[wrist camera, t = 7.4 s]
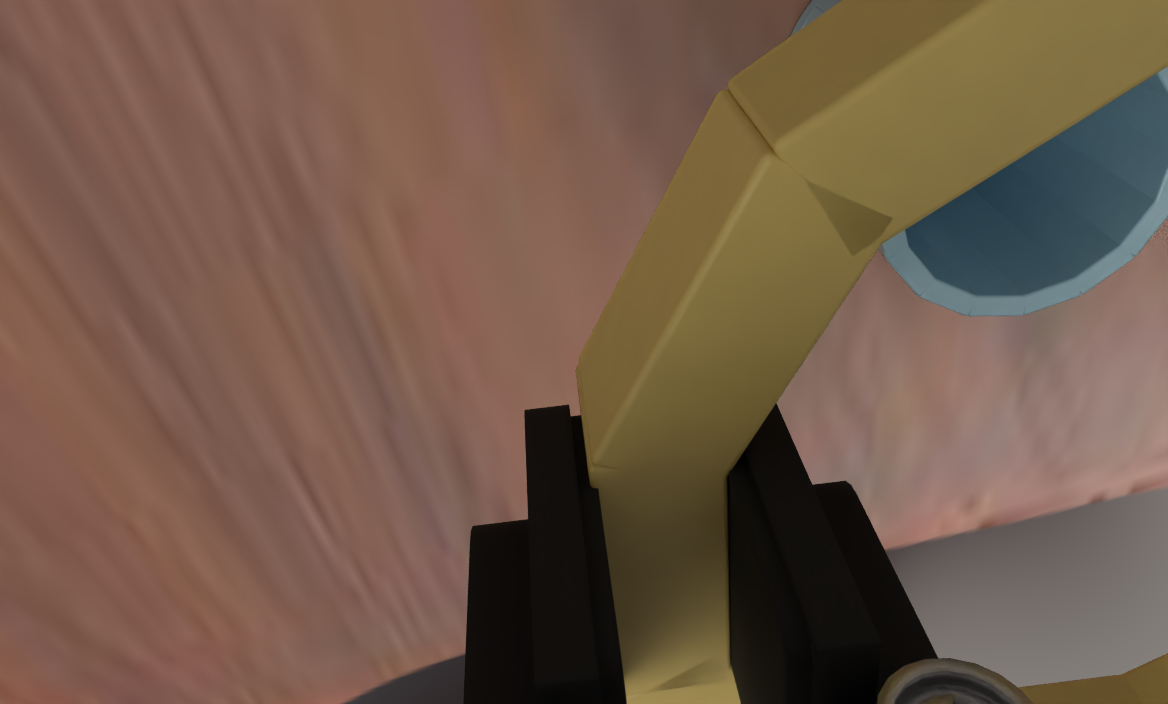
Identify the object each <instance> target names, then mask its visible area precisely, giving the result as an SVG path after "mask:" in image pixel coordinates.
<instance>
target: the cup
mask: <svg viewBox="0 0 1168 704" xmlns="http://www.w3.org/2000/svg"><path fill="white" fill-rule="evenodd" d="M841 1H842V0H812V1H811V3H810V4H809V5H808V6H807V8H806V9H805V10H804V12H803V14H802V15H801V17H800V19H799V20H798V22H797V24H796V25H795V28H794V30H793V32H792V34H791V36H792V35H794V34H795V33H796V32H798V31H799V30H801V29H802V28H804V27H805V26H806V25H808V24H809V23H811V22H812V21H813V20H815V19H816V18H818V17H819V16H821V15H822V14H823V13H825V12H826V11H828V10H829V9H831V8H832V7H833V6H835V5H836V4H838V3H839V2H841ZM791 36H790V37H791ZM1167 217H1168V67H1166V68H1165V69H1163V70H1161V71H1160V72H1158V73H1157V74H1155V75H1153V76H1152V77H1150V78H1148V79H1147V80H1145V81H1144V82H1142V83H1140V84H1139V85H1137V86H1136V87H1134V88H1132V89H1131V90H1129V91H1128V92H1126V93H1124V94H1123V95H1121V96H1119V97H1118V98H1116V99H1115V100H1113V101H1111V102H1110V103H1108V104H1107V105H1105V106H1103V107H1102V108H1100V109H1099V110H1097V111H1095V112H1094V113H1092V114H1090V115H1089V116H1087V117H1086V118H1084V119H1082V120H1081V121H1079V122H1078V123H1076V124H1074V125H1073V126H1071V127H1070V128H1068V129H1066V130H1065V131H1063V132H1061V133H1060V134H1058V135H1057V136H1055V137H1053V138H1052V139H1050V140H1049V141H1047V142H1045V143H1044V144H1042V145H1041V146H1039V147H1037V148H1036V149H1034V150H1033V151H1031V152H1029V153H1028V154H1026V155H1024V156H1023V157H1021V158H1020V159H1018V160H1016V161H1015V162H1013V163H1012V164H1010V165H1008V166H1007V167H1005V168H1004V169H1002V170H1000V171H999V172H997V173H995V174H994V175H992V176H991V177H989V178H987V179H986V180H984V181H983V182H981V183H979V184H978V185H976V186H975V187H973V188H971V189H970V190H968V191H966V192H965V193H963V194H962V195H960V196H958V197H957V198H955V199H954V200H952V201H950V202H949V203H947V204H946V205H944V206H942V207H941V208H939V209H937V210H936V211H934V212H933V213H931V214H929V215H928V216H926V217H925V218H923V219H921V220H920V221H918V222H917V223H915V224H913V225H912V226H910V227H908V228H907V229H905V230H904V231H902V232H900V233H899V234H897V235H896V236H894V237H892V238H891V239H889V240H888V241H886V242H884V243H883V244H881V245H880V247H879V248H878V250H879V252H880V253H881V254H882V255H883V257H884V258H885V259H886V260H887V262H888V263H889V264H890V265H891V266H892V267H893V268H894V270H895V271H896V272H897V273H898V274H899V275H900V277H901V278H902V279H903V280H904V281H905V282H906V284H907V285H908V286H909V287H910V288H911V289H912V291H913V292H914V293H915V294H916V295H918V296H919V297H920V298H922V299H925V300H927V301H930V302H932V303H934V304H937V305H939V306H942V307H944V308H947V309H949V310H952V311H954V312H957V313H959V314H962V315H965V316H966V315H967V316H1021V315H1026V314H1029V313H1032V312H1035V311H1038V310H1041V309H1044V308H1046V307H1049V306H1052V305H1055V304H1058V303H1061V302H1064V301H1067V300H1069V299H1072V298H1075V297H1078V296H1080V294H1084V293H1086V292H1087V291H1089V290H1090V289H1091V288H1093V287H1094V286H1096V285H1097V284H1098V283H1100V282H1101V281H1103V280H1104V279H1105V278H1107V277H1108V276H1110V275H1111V274H1112V273H1114V272H1115V271H1117V270H1118V269H1120V268H1121V267H1122V266H1124V265H1125V264H1127V263H1128V262H1129V261H1131V260H1132V259H1133V258H1134V256H1136V255H1137V254H1138V253H1139V252H1140V251H1141V249H1142V248H1143V247H1144V246H1145V244H1146V243H1147V242H1148V241H1149V239H1150V238H1151V237H1152V236H1153V234H1154V233H1155V232H1156V231H1157V229H1158V228H1159V227H1160V226H1161V224H1162V223H1163V222H1164V221H1165V219H1166V218H1167Z"/></svg>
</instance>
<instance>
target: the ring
mask: <svg viewBox="0 0 1168 704" xmlns="http://www.w3.org/2000/svg"><path fill="white" fill-rule="evenodd" d="M1166 67H1168V0H842V1H841V2H839V3H838V4H836V5H835V6H833V7H832V8H831V9H829V10H828V11H826V12H825V13H823V14H822V15H821V16H819V17H818V18H816V19H815V20H813V21H812V22H811V23H809V24H808V25H806V26H805V27H804V28H802V29H801V30H799V31H798V32H796V33H795V34H794V35H792V36H791V37H789V38H788V39H786V40H785V41H784V42H782V43H781V44H779V45H778V46H776V47H775V48H774V49H772V50H771V51H769V52H768V53H767V54H765V55H764V56H762V57H761V58H759V59H758V60H757V61H755V62H754V63H752V64H751V65H749V66H748V67H747V68H745V69H744V70H742V71H741V72H739V73H738V74H737V75H735V76H734V77H732V78H731V80H730V81H729V82H728V90H721V91H720V92H719V93H718V94H717V95H716V97H715V99H714V101H713V102H712V104H711V106H710V108H709V110H708V112H707V114H706V116H705V118H704V120H703V122H702V123H701V125H700V127H699V129H698V131H697V133H696V135H695V137H694V139H693V141H692V143H691V144H690V146H689V148H688V150H687V152H686V154H685V156H684V158H683V160H682V162H681V164H680V165H679V167H678V169H677V171H676V173H675V175H674V177H673V179H672V181H671V183H670V185H669V186H668V188H667V190H666V192H665V194H664V196H663V198H662V200H661V202H660V204H659V206H658V207H657V209H656V211H655V213H654V215H653V217H652V219H651V221H650V223H649V225H648V227H647V228H646V230H645V232H644V234H643V236H642V238H641V240H640V242H639V244H638V246H637V248H636V249H635V251H634V253H633V255H632V257H631V259H630V261H629V263H628V265H627V267H626V269H625V270H624V272H623V274H622V276H621V278H620V280H619V282H618V284H617V286H616V288H615V290H614V291H613V293H612V295H611V297H610V299H609V301H608V303H607V305H606V307H605V309H604V311H603V312H602V314H601V316H600V318H599V320H598V322H597V324H596V326H595V328H594V330H593V332H592V333H591V335H590V337H589V339H588V341H587V343H586V345H585V347H584V349H583V351H582V353H581V354H580V356H579V365H577V368H576V378H577V386H578V395H579V403H580V412H581V418H582V426H583V434H584V442H585V450H586V458H587V466H588V474H589V482H590V486H591V487H592V488H598V490H599V498H600V505H601V512H602V519H603V527H604V534H605V541H606V548H607V556H608V563H609V570H610V577H611V585H612V592H613V599H614V607H615V614H616V621H617V628H618V636H619V643H620V650H621V658H622V666H623V674H624V682H625V691H626V700H627V704H741V702H740V698H739V694H738V690H737V687H736V683H735V679H734V675H733V671H732V667H731V658H730V594H729V529H728V475H729V471H731V470H732V469H733V467H734V466H735V464H736V463H737V461H738V460H739V458H740V457H741V455H742V454H743V452H744V451H745V449H746V448H747V446H748V445H749V443H750V442H751V440H752V439H753V437H754V436H755V434H756V433H757V431H758V430H759V428H760V426H761V425H762V423H763V422H764V420H765V419H766V417H767V416H768V414H769V413H770V411H771V410H772V408H773V407H774V405H775V404H776V402H777V401H778V399H779V398H780V396H781V395H782V393H783V392H784V390H785V389H786V387H787V386H788V384H789V383H790V381H791V380H792V378H793V377H794V375H795V374H796V372H797V371H798V369H799V368H800V366H801V365H802V363H803V362H804V360H805V359H806V357H807V356H808V354H809V353H810V351H811V350H812V348H813V346H814V345H815V343H816V342H817V340H818V339H819V337H820V336H821V334H822V333H823V331H824V330H825V328H826V327H827V325H828V324H829V322H830V321H831V319H832V318H833V316H834V315H835V313H836V312H837V310H838V309H839V307H840V306H841V304H842V303H843V301H844V300H845V298H846V297H847V295H848V294H849V292H850V291H851V289H852V288H853V286H854V285H855V283H856V282H857V280H858V279H859V277H860V276H861V274H862V273H863V271H864V270H865V268H866V267H867V265H868V263H869V262H870V260H871V259H872V257H873V256H874V254H875V253H876V251H877V250H878V248H879V247H880V245H881V244H883V243H884V242H886V241H888V240H889V239H891V238H892V237H894V236H896V235H897V234H899V233H900V232H902V231H904V230H905V229H907V228H908V227H910V226H912V225H913V224H915V223H917V222H918V221H920V220H921V219H923V218H925V217H926V216H928V215H929V214H931V213H933V212H934V211H936V210H937V209H939V208H941V207H942V206H944V205H946V204H947V203H949V202H950V201H952V200H954V199H955V198H957V197H958V196H960V195H962V194H963V193H965V192H966V191H968V190H970V189H971V188H973V187H975V186H976V185H978V184H979V183H981V182H983V181H984V180H986V179H987V178H989V177H991V176H992V175H994V174H995V173H997V172H999V171H1000V170H1002V169H1004V168H1005V167H1007V166H1008V165H1010V164H1012V163H1013V162H1015V161H1016V160H1018V159H1020V158H1021V157H1023V156H1024V155H1026V154H1028V153H1029V152H1031V151H1033V150H1034V149H1036V148H1037V147H1039V146H1041V145H1042V144H1044V143H1045V142H1047V141H1049V140H1050V139H1052V138H1053V137H1055V136H1057V135H1058V134H1060V133H1061V132H1063V131H1065V130H1066V129H1068V128H1070V127H1071V126H1073V125H1074V124H1076V123H1078V122H1079V121H1081V120H1082V119H1084V118H1086V117H1087V116H1089V115H1090V114H1092V113H1094V112H1095V111H1097V110H1099V109H1100V108H1102V107H1103V106H1105V105H1107V104H1108V103H1110V102H1111V101H1113V100H1115V99H1116V98H1118V97H1119V96H1121V95H1123V94H1124V93H1126V92H1128V91H1129V90H1131V89H1132V88H1134V87H1136V86H1137V85H1139V84H1140V83H1142V82H1144V81H1145V80H1147V79H1148V78H1150V77H1152V76H1153V75H1155V74H1157V73H1158V72H1160V71H1161V70H1163V69H1165V68H1166ZM1019 689H1021V690H1022V691H1023V692H1024V694H1025V695H1026V696H1027V697H1028V698H1029V700H1030V701H1031V702H1032V703H1033V704H1168V653H1167V654H1166V655H1163V656H1161V657H1159V658H1157V659H1154V660H1152V661H1150V662H1148V663H1146V664H1143V665H1141V666H1139V667H1137V668H1135V669H1133V670H1131V671H1128V672H1126V673H1124V674H1122V675H1113V676H1105V677H1097V678H1089V679H1082V680H1074V681H1066V682H1058V683H1050V684H1043V685H1034V686H1026V687H1019Z"/></svg>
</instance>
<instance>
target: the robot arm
mask: <svg viewBox="0 0 1168 704" xmlns="http://www.w3.org/2000/svg"><path fill="white" fill-rule="evenodd" d="M525 442H526V469H527V496H528V519H527V520H519V521H510V522H502V523H494V524H486V525H478V526H473V527H472V530H471V537H470V557H469V582H468V607H467V631H466V656H465V680H464V704H627V700H626V691H625V682H624V674H623V666H622V658H621V650H620V643H619V636H618V628H617V621H616V614H615V607H614V599H613V592H612V585H611V577H610V570H609V563H608V556H607V548H606V541H605V534H604V527H603V519H602V512H601V505H600V498H599V490H598V488H592V487H591V486H590V482H589V474H588V466H587V458H586V450H585V442H584V434H583V426H582V418H581V415H579V416H570V409H569V405H562V406H554V407H546V408H537V409H529V410H525ZM728 529H729V594H730V658H731V667H732V671H733V675H734V679H735V683H736V687H737V690H738V694H739V698H740V702H741V704H1033V703H1032V702H1031V701H1030V700H1029V698H1028V697H1027V696H1026V695H1025V694H1024V692H1023V691H1022V690H1021V689H1019V688H1018V687H1016V686H1015V685H1014V684H1012V683H1011V682H1010V681H1008V680H1007V679H1006V678H1004V677H1003V676H1001V675H1000V674H998V673H996V672H993V671H991V670H989V669H987V668H984V667H982V666H980V665H978V664H975V663H970V662H965V661H961V660H956V659H951V658H942V659H938V657H937V655H936V653H935V651H934V649H933V647H932V645H931V643H930V641H929V639H928V637H927V635H926V633H925V631H924V629H923V627H922V625H921V623H920V621H919V619H918V617H917V615H916V613H915V611H914V608H913V606H912V605H911V602H910V601H909V598H908V596H907V594H906V592H905V590H904V588H903V586H902V584H901V582H900V581H899V578H898V576H897V574H896V572H895V570H894V568H893V566H892V564H891V562H890V560H889V558H888V556H887V554H886V552H885V550H884V548H883V546H882V544H881V542H880V540H879V538H878V536H877V534H876V532H875V530H874V528H873V526H872V524H871V522H870V520H869V518H868V516H867V514H866V512H865V510H864V508H863V506H862V504H861V502H860V500H859V498H858V496H857V494H856V492H855V491H854V489H853V487H852V486H851V484H849V483H848V482H846V481H840V482H832V483H823V484H815V485H812V483H811V481H810V479H809V476H808V474H807V472H806V469H805V467H804V465H803V463H802V460H801V458H800V456H799V454H798V451H797V449H796V447H795V445H794V442H793V440H792V438H791V435H790V433H789V431H788V429H787V426H786V424H785V422H784V420H783V417H782V415H781V413H780V410H779V408H778V406H777V404H775V405H774V407H773V408H772V410H771V411H770V413H769V414H768V416H767V417H766V419H765V420H764V422H763V423H762V425H761V426H760V428H759V430H758V431H757V433H756V434H755V436H754V437H753V439H752V440H751V442H750V443H749V445H748V446H747V448H746V449H745V451H744V452H743V454H742V455H741V457H740V458H739V460H738V461H737V463H736V464H735V466H734V467H733V469H732V470H731V471H729V475H728Z"/></svg>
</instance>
